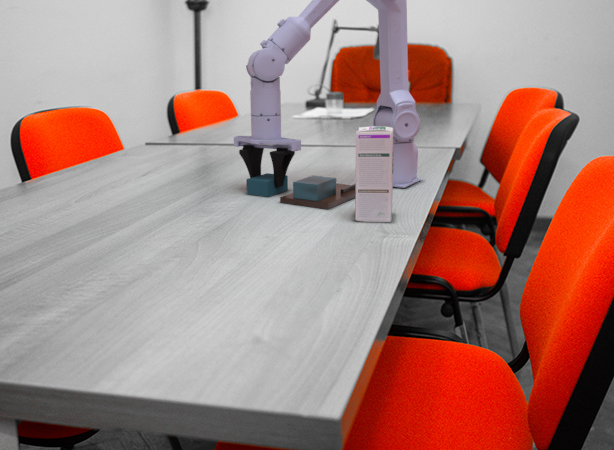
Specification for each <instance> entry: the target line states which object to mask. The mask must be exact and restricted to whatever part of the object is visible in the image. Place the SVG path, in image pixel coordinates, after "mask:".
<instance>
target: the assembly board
mask: <svg viewBox="0 0 614 450" xmlns="http://www.w3.org/2000/svg"><path fill="white" fill-rule="evenodd" d="M355 186H356V182H355V183H352V184H345V183H337V177H331V176H323V175H322V176H321V175H310V176H307V177H304V178H301V179H297V180H294V181H293V182H292V192H291V193H289V194H285V195H282V196H280V197H279V203H282V204H289V205H294V206H302V207H310V208H317V209H323V210H330V209H332V208H335V207H337V206H340V205H342V204H344V203H346V202H348V201H351V200H353V199H355Z"/></svg>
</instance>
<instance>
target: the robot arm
mask: <svg viewBox="0 0 614 450" xmlns="http://www.w3.org/2000/svg"><path fill="white" fill-rule="evenodd" d="M339 1H340V0H311V1H310V2H309V4H307V6H306V7H305V8H304V9H303V10H302V11H301V13H300V14H299V15H298V16H288V17H287V18H286V19H285V18H282V19H280V20H279V21H278V23H276V25H277V26H278V28H276V29H275V30H274V32H273V33H272V34H271V35H270V36H269V37H268V38H267V39H266V40H265V39H263V40H262V41H261V42H260V43H259V45H260V46H261V49H258V50H256V51H253V52H252V53H251V55H250V56H249V57H248V60H247V64H246V65H245V70H246V72H247V74H248V76H249V77H250V82H249V83H250V91H249V100H250V101H249V102H250V128H251V129H250V131H251V132H250V133H251V135H236V136H233V146H234V147H237V148H238V147H242V148H241V149H239V150H238V154H239V155H240V157H241V158H242V160H243V162H244V164H245V166H246V169H247V171H248V172H247V173H248V175H249V178H252V177H256V176H259V175H262V161H263V154H264V151H265V149H271V150H272V151H269V156H270V159H271V164H272V170H273V174H274V184H275V187H276V188H278V187H282V186H283V185H284V180H285V176H286V175H287V172H288V170H289V166H290V164H291V161H292V160H293V158H294V156H295V154H296V152H298V151H301V150H302V140H301V139H294V138H289V137H283V136H282V115H281V114H282V109H281V108H282V102H281V101H282V99H281V95H282V94H281V93H282V92H281V76H282V75H283V74H284V71H285V65H288V64H289V63H290V62H291V61H292V60H293V59H294V57H296V55H298V53H299V52H300V51H301V50H302V49H303V48H304V47H305V46H306V45H307V44H308V42H310V40H311V37H312V36H311V32H312V28H313V27H314V26H315V25H316V24H317V23H318V22H319V21H320V20H321V19H322V18H323V17H325V16H326V14H328V12H329V11H330V10H332V8H333V7H334V6H335V5H336V4H337V3H338V2H339ZM366 2H367V3H369V4H370V5H371V6H373V8H375V9H376V10H377V15H378V17H377V18H378V45H379V46H378V47H379V73H380V74H379V75H380V93H379V96H378V97H377V100H376V109H375V112H374V115H373V118H372V126H386V127H393V188H401V189H405V188H407V187H410V186H411V185H414V184H416V183H418V182H420V181H422V177H418V165H419V164H418V163H419V161H418V160H419V149H418V146H417V144H416V143H415V142H414V139H415V137H416V136H417V135H418V133H419V131H420V129H421V118H420V116H419V114H418V111H417V106H416V103H417V102H416V100H415V99H414V97H413V96H412V94H411V93H410V90H409V55H408V53H409V51H408V50H409V49H408V15H407V14H408V8H407V7H408V4H407V3H408V1H407V0H366Z"/></svg>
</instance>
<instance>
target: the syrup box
mask: <svg viewBox="0 0 614 450" xmlns="http://www.w3.org/2000/svg"><path fill="white" fill-rule="evenodd" d="M355 183H356V186H355V198H354V199H355V205H354V206H355V207H354V208H355V209H354V210H355V212H354V213H355V218H354V221H356V222H365V223H368V222H369V223H391V222H392V216H393V189H394V187H393V127H386V126H373V125H370V126H359V127H358V129H356V131H355Z"/></svg>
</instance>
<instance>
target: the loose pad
mask: <svg viewBox="0 0 614 450" xmlns="http://www.w3.org/2000/svg"><path fill="white" fill-rule="evenodd" d="M288 180H289V179H288V175H287V174H286V176H285V180H284V185H283V186H282V187H278V188H276V187H275V184H274V173H270V172H269V173H268V172H266V173H263V174H261V175H259V176H256V177H252V178H250V177H249V178H246V194H247V195H250V196H256V197H257V196H258V197H265V198H269V197H272V196H275V195H278V194H280V193H284V192H287V191H289V190H288V189H289V186H288V185H289V183H288V182H289V181H288Z"/></svg>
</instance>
